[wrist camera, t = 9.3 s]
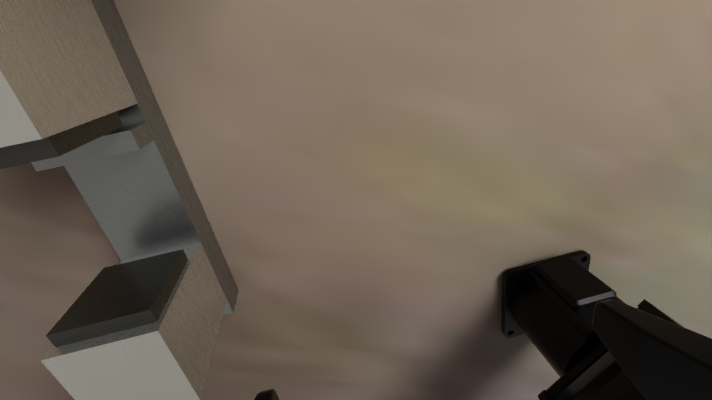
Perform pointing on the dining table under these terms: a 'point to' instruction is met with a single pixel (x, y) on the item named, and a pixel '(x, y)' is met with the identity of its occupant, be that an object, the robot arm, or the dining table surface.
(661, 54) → the dining table surface
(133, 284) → the rail
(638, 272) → the dining table surface
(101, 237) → the dining table surface
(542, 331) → the robot arm
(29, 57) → the block
